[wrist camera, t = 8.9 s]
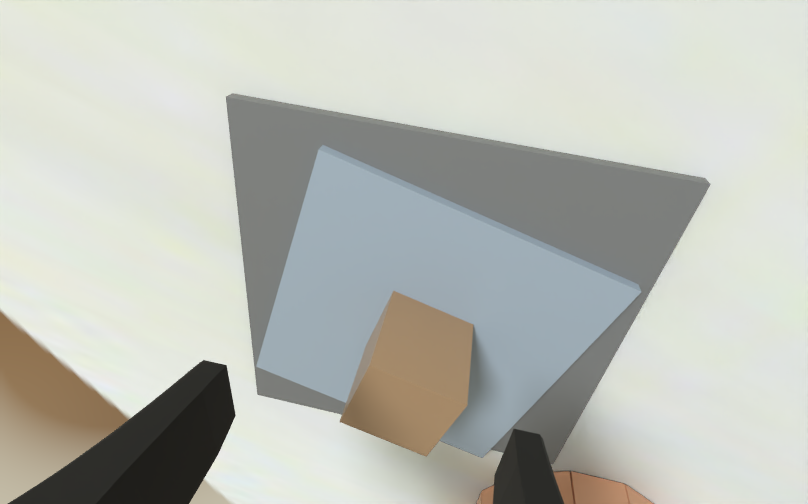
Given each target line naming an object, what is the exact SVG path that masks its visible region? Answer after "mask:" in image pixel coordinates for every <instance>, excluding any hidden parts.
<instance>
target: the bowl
mask: <svg viewBox="0 0 808 504" xmlns="http://www.w3.org/2000/svg"><path fill="white" fill-rule="evenodd" d="M553 473H554V476H555V479H556V482H557V485H558V487H559V490H560V493H561V496H562V499H563V501H564V504H654V503H652V502H651V501H649V500H648V499H646V498H645V497H643V496H642V495H641V494H639V493H638V492H636V491H635V490H633V489H632V488H630V487H629V486H627V485H626V484H625V485H624V484H623V483H619V482H615V481H611V480H607V479H602V478H598V477H594V476H590V475H585V474H581V473H577V472H573V471H571V473H570V471H562V472H553ZM493 493H494V485H493V486H491V487H489V488H487V489H485V490H482V491H481V494H480V496H479V499H478V501H477V503H476V504H493Z"/></svg>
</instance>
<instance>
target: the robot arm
mask: <svg viewBox="0 0 808 504" xmlns="http://www.w3.org/2000/svg"><path fill="white" fill-rule="evenodd" d="M234 418H235V410H234V405H233V399H232V394H231V388H230V382H229V377H228V371H227V366H226V365H223V364H218V363H214V362H209V361H205V360H203V361H202V362H200V363H199V364H198V365H196V366H195V367H194V368H193V369H192V370H190V371H189V372H188V373H187V374H185V375H184V376H183V377H182V378H181V379H179V380H178V381H177V382H176V383H174V384H173V385H172V386H171V387H170V388H168V389H167V390H166V391H165V392H163V393H162V394H161V395H160V396H158V397H157V398H156V399H155V400H153V401H152V402H151V403H150V404H149V405H147V406H146V407H145V408H143V409H142V410H141V411H140V412H138V413H137V414H136V415H134V416H133V417H132V418H131V419H129V420H128V421H127V422H125V423H124V424H123V425H122V426H120V427H119V428H118V429H116V430H115V431H114V432H112V433H111V434H110V435H108V436H107V437H106V438H104V439H103V440H101V441H100V442H99V443H97V444H96V445H95V446H93V447H92V448H91V449H89V450H88V451H86V452H85V453H83V454H82V455H81V456H79V457H78V458H76V459H75V460H74V461H72V462H71V463H69V464H68V465H67V466H65V467H64V468H62V469H61V470H59V471H58V472H57V473H55V474H53V475H52V476H50V477H49V478H47V479H46V480H44V481H43V482H41V483H40V484H38V485H37V486H35V487H33V488H32V489H30V490H29V491H27V492H26V493H24V494H23V495H21V496H19V497H18V498H16V499H15V500H13V501H11V502H10V503H8V504H189V503H190V501H191V499H192V498H193V496H194V494H195V493H196V491H197V489H198V488H199V486H200V484H201V483H202V481H203V479H204V477H205V476H206V474H207V472H208V471H209V469H210V467H211V466H212V464H213V462H214V460H215V459H216V457H217V455H218V453H219V451H220V449H221V447H222V444H223V442H224V440H225V438H226V436H227V434H228V431H229V429H230V427H231V424H232V422H233V420H234ZM493 504H564V501H563V499H562V496H561V493H560V490H559V487H558V485H557V482H556V479H555V476H554V473H553V470H552V467H551V464H550V461H549V457H548V454H547V451H546V448H545V444H544V441H543V438H542V437H541V435H540V434H536V433H532V432H527V431H523V430H518V429H513V431H512V434H511V436H510V439H509V441H508V444H507V446H506V449H505V451H504V454H503V456H502V458H501V461H500V463H499V466H498V468H497V471H496V473H495V479H494V493H493Z"/></svg>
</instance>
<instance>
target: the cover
mask: <svg viewBox="0 0 808 504" xmlns="http://www.w3.org/2000/svg"><path fill="white" fill-rule="evenodd" d="M640 293H641V289H640V287H639V284H636V283H634V282H632V281H630V280H627V279H625V278H623V277H620V276H618V275H616V274H614V273H611V272H609V271H607V270H605V269H602V268H600V267H598V266H596V265H593V264H591V263H589V262H587V261H584V260H582V259H580V258H578V257H575V256H573V255H571V254H569V253H566V252H564V251H562V250H559V249H557V248H555V247H553V246H550V245H548V244H546V243H544V242H541V241H539V240H537V239H535V238H532V237H530V236H528V235H526V234H523V233H521V232H519V231H517V230H514V229H512V228H510V227H507V226H505V225H503V224H501V223H498V222H496V221H494V220H492V219H489V218H487V217H485V216H483V215H480V214H478V213H476V212H474V211H471V210H469V209H467V208H465V207H462V206H460V205H458V204H455V203H453V202H451V201H449V200H446V199H444V198H442V197H440V196H437V195H435V194H433V193H431V192H428V191H426V190H424V189H422V188H419V187H417V186H415V185H413V184H410V183H408V182H406V181H404V180H401V179H399V178H397V177H394V176H392V175H390V174H388V173H385V172H383V171H381V170H379V169H376V168H374V167H372V166H370V165H367V164H365V163H363V162H361V161H358V160H356V159H354V158H352V157H349V156H347V155H345V154H342V153H340V152H338V151H336V150H333V149H331V148H329V147H327V146H324V145H322V146H321V147H320V148H319V150H318V153H317V157H316V160H315V163H314V167H313V170H312V174H311V177H310V181H309V184H308V188H307V191H306V195H305V198H304V202H303V205H302V209H301V212H300V216H299V219H298V223H297V226H296V230H295V233H294V237H293V240H292V244H291V247H290V251H289V254H288V258H287V261H286V264H285V268H284V271H283V275H282V278H281V282H280V285H279V289H278V292H277V296H276V299H275V303H274V306H273V310H272V313H271V317H270V320H269V324H268V327H267V331H266V334H265V338H264V341H263V345H262V348H261V352H260V355H259V359H258V362H257V365H256V367H258V368H261V369H263V370H266V371H268V372H271V373H273V374H276V375H278V376H281V377H283V378H286V379H288V380H291V381H293V382H295V383H298V384H300V385H303V386H305V387H308V388H310V389H313V390H315V391H318V392H320V393H323V394H325V395H328V396H330V397H333V398H335V399H337V400H340V401H342V402H345V403H346V405H345V408H344V411H343V413H342V416H341V419H340V422H342V423H344V424H347V425H349V426H352V427H354V428H357V429H359V430H362V431H364V432H366V433H369V434H371V435H374V436H376V437H379V438H381V439H384V440H386V441H389V442H391V443H394V444H396V445H399V446H401V447H404V448H406V449H409V450H411V451H414V452H416V453H419V454H421V455H424V456H427V455H428V454H429V452H430V451H431V450H432V449H433V447H434V446H435V445H436V444H437V443H438V441H441V442H444V443H446V444H449V445H451V446H454V447H456V448H459V449H461V450H464V451H466V452H469V453H471V454H473V455H476V456H478V457H481V458H483V457H484V456H485V455H486V454H487V453H488V452H489V450H490V449H491V448H492V447H493V446H494V445H495V444H496V443H497V442H498V441H499V440H500V439H501V438H502V437H503V436H504V435H505V434H506V433H507V432H508V431H509V430H510V429H511V428H512V427H513V425H514V424H515V423H516V422H517V421H518V420H519V419H520V418H521V417H522V416H523V415H524V414H525V413H526V412H527V411H528V410H529V409H530V408H531V407H532V406H533V405H534V404H535V403H536V402H537V400H538V399H539V398H540V397H541V396H542V395H543V394H544V393H545V392H546V391H547V390H548V389H549V388H550V387H551V386H552V385H553V384H554V383H555V382H556V381H557V380H558V379H559V378H560V377H561V375H562V374H563V373H564V372H565V371H566V370H567V369H568V368H569V367H570V366H571V365H572V364H573V363H574V362H575V361H576V360H577V359H578V358H579V357H580V356H581V355H582V354H583V353H584V352H585V350H586V349H587V348H588V347H589V346H590V345H591V344H592V343H593V342H594V341H595V340H596V339H597V338H598V337H599V336H600V335H601V334H602V333H603V332H604V331H605V330H606V329H607V328H608V327H609V325H610V324H611V323H612V322H613V321H614V320H615V319H616V318H617V317H618V316H619V315H620V314H621V313H622V312H623V311H624V310H625V309H626V308H627V307H628V306H629V305H630V304H631V303H632V302H633V301H634V299H635V298H636V297H637V296H638V295H639V294H640Z"/></svg>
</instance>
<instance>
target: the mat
mask: <svg viewBox="0 0 808 504" xmlns="http://www.w3.org/2000/svg"><path fill="white" fill-rule="evenodd" d="M226 102H227V112H228V121H229V131H230V140H231V149H232V159H233V168H234V178H235V187H236V197H237V206H238V215H239V225H240V234H241V244H242V253H243V262H244V272H245V281H246V291H247V300H248V310H249V319H250V328H251V338H252V347H253V357H254V366H255V375H256V385H257V394H258V395H262V396H266V397H270V398H274V399H279V400H283V401H287V402H291V403H295V404H300V405H304V406H308V407H312V408H317V409H321V410H325V411H329V412H334V413H338V414H342V413H343V411H344V408H345V405H346V403H345V402H342V401H340V400H337V399H335V398H333V397H330V396H328V395H325V394H323V393H320V392H318V391H315V390H313V389H310V388H308V387H305V386H303V385H300V384H298V383H295V382H293V381H291V380H288V379H286V378H283V377H281V376H278V375H276V374H273V373H271V372H268V371H266V370H263V369H261V368H258V367H256V365H257V362H258V359H259V355H260V352H261V348H262V345H263V341H264V338H265V334H266V331H267V327H268V324H269V320H270V317H271V313H272V310H273V306H274V303H275V299H276V296H277V292H278V289H279V285H280V282H281V278H282V275H283V271H284V268H285V264H286V261H287V258H288V254H289V251H290V247H291V244H292V240H293V237H294V233H295V230H296V226H297V223H298V219H299V216H300V212H301V209H302V205H303V202H304V198H305V195H306V191H307V188H308V184H309V181H310V177H311V174H312V170H313V167H314V163H315V160H316V157H317V153H318V150H319V148H320V147H321V146H322V145H324V146H327V147H329V148H331V149H333V150H336V151H338V152H340V153H342V154H345V155H347V156H349V157H352V158H354V159H356V160H358V161H361V162H363V163H365V164H367V165H370V166H372V167H374V168H376V169H379V170H381V171H383V172H385V173H388V174H390V175H392V176H394V177H397V178H399V179H401V180H404V181H406V182H408V183H410V184H413V185H415V186H417V187H419V188H422V189H424V190H426V191H428V192H431V193H433V194H435V195H437V196H440V197H442V198H444V199H446V200H449V201H451V202H453V203H455V204H458V205H460V206H462V207H465V208H467V209H469V210H471V211H474V212H476V213H478V214H480V215H483V216H485V217H487V218H489V219H492V220H494V221H496V222H498V223H501V224H503V225H505V226H507V227H510V228H512V229H514V230H517V231H519V232H521V233H523V234H526V235H528V236H530V237H532V238H535V239H537V240H539V241H541V242H544V243H546V244H548V245H550V246H553V247H555V248H557V249H559V250H562V251H564V252H566V253H569V254H571V255H573V256H575V257H578V258H580V259H582V260H584V261H587V262H589V263H591V264H593V265H596V266H598V267H600V268H602V269H605V270H607V271H609V272H611V273H614V274H616V275H618V276H620V277H623V278H625V279H627V280H630V281H632V282H634V283H636V284H639V287H640V289H641V293H640V294H639V295H638V296H637V297H636V298H635V299H634V301H633V302H632V303H631V304H630V305H629V306H628V307H627V308H626V309H625V310H624V311H623V312H622V313H621V314H620V315H619V316H618V317H617V318H616V319H615V320H614V321H613V322H612V323H611V324H610V325H609V327H608V328H607V329H606V330H605V331H604V332H603V333H602V334H601V335H600V336H599V337H598V338H597V339H596V340H595V341H594V342H593V343H592V344H591V345H590V346H589V347H588V348H587V349H586V350H585V352H584V353H583V354H582V355H581V356H580V357H579V358H578V359H577V360H576V361H575V362H574V363H573V364H572V365H571V366H570V367H569V368H568V369H567V370H566V371H565V372H564V373H563V374H562V375H561V377H560V378H559V379H558V380H557V381H556V382H555V383H554V384H553V385H552V386H551V387H550V388H549V389H548V390H547V391H546V392H545V393H544V394H543V395H542V396H541V397H540V398H539V399H538V400H537V402H536V403H535V404H534V405H533V406H532V407H531V408H530V409H529V410H528V411H527V412H526V413H525V414H524V415H523V416H522V417H521V418H520V419H519V420H518V421H517V422H516V423H515V424H514V425H513V427H512V428H511V429H510V430H509V431H508V432H507V433H506V434H505V435H504V436H503V437H502V438H501V439H500V440H499V441H498V442H497V443H496V444H495V445H494V446H493V447H492V448H491V450H495V451H499V452H504V451H505V449H506V446H507V444H508V441H509V439H510V436H511V434H512V431H513V429H518V430H523V431H527V432H532V433H536V434H540V435H541V437H542V438H543V441H544V444H545V448H546V451H547V454H548V457H549V461H550V464H553V463H554V461H555V460H556V458H557V456H558V454H559V453H560V451H561V449H562V447H563V445H564V444H565V442H566V440H567V438H568V437H569V435H570V433H571V431H572V429H573V428H574V426H575V424H576V422H577V421H578V419H579V417H580V415H581V413H582V412H583V410H584V408H585V406H586V405H587V403H588V401H589V399H590V397H591V396H592V394H593V392H594V390H595V389H596V387H597V385H598V383H599V381H600V380H601V378H602V376H603V374H604V373H605V371H606V369H607V367H608V366H609V364H610V362H611V360H612V358H613V357H614V355H615V353H616V351H617V350H618V348H619V346H620V344H621V342H622V341H623V339H624V337H625V335H626V334H627V332H628V330H629V328H630V326H631V325H632V323H633V321H634V319H635V318H636V316H637V314H638V312H639V310H640V309H641V307H642V305H643V303H644V302H645V300H646V298H647V296H648V294H649V293H650V291H651V289H652V287H653V286H654V284H655V282H656V280H657V278H658V277H659V275H660V273H661V271H662V270H663V268H664V266H665V264H666V262H667V261H668V259H669V257H670V255H671V254H672V252H673V250H674V248H675V246H676V245H677V243H678V241H679V239H680V238H681V236H682V234H683V232H684V230H685V229H686V227H687V225H688V223H689V222H690V220H691V218H692V216H693V215H694V213H695V211H696V209H697V207H698V206H699V204H700V202H701V200H702V199H703V197H704V195H705V193H706V191H707V190H708V188H709V186H710V183H709V182H708V181H707V180H706V179H705V178H700V177H695V176H689V175H684V174H678V173H672V172H667V171H661V170H656V169H650V168H645V167H639V166H633V165H628V164H622V163H617V162H611V161H606V160H600V159H594V158H589V157H583V156H578V155H572V154H567V153H561V152H555V151H550V150H544V149H539V148H533V147H528V146H522V145H516V144H511V143H505V142H500V141H494V140H488V139H483V138H477V137H472V136H466V135H461V134H455V133H449V132H444V131H438V130H433V129H427V128H422V127H416V126H410V125H405V124H399V123H394V122H388V121H383V120H377V119H371V118H366V117H360V116H355V115H349V114H343V113H338V112H332V111H327V110H321V109H316V108H310V107H304V106H299V105H293V104H288V103H282V102H277V101H271V100H265V99H260V98H254V97H249V96H243V95H238V94H231V95H229V96H227V97H226Z"/></svg>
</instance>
